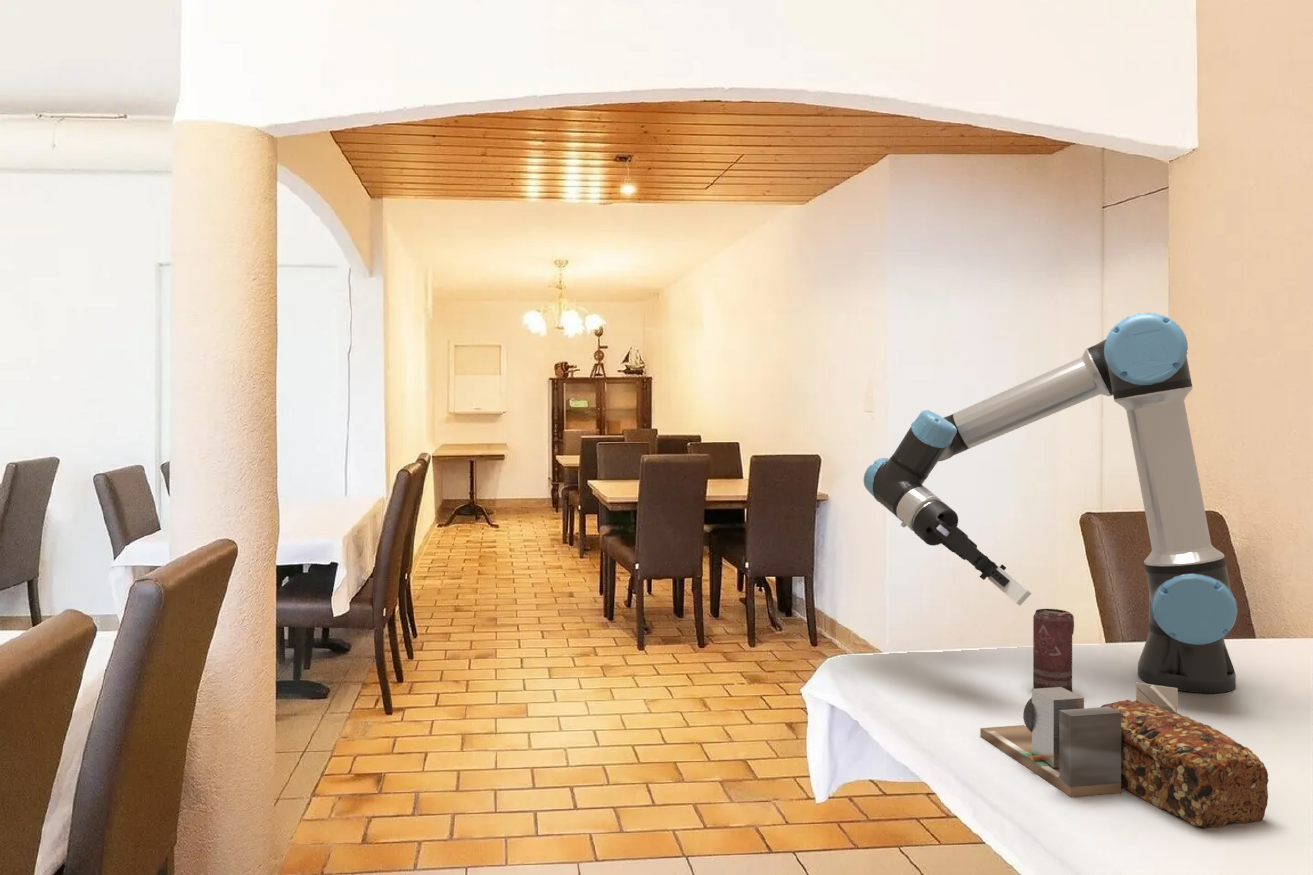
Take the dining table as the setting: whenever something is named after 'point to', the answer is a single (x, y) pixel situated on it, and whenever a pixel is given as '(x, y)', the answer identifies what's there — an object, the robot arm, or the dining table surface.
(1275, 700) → the dining table surface
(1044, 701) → the brushed steel block
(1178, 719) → the bread
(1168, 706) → the architectural model
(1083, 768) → the gauge body
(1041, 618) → the can
